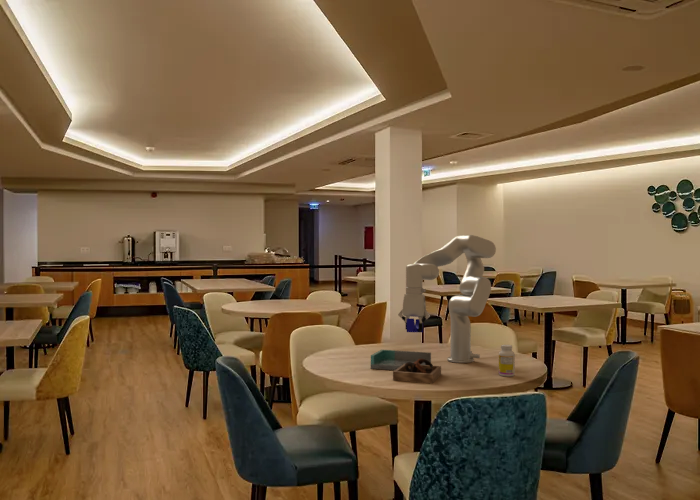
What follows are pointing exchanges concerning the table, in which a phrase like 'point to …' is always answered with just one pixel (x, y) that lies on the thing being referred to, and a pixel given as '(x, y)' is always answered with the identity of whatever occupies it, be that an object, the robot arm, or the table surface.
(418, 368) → the brown looped piece
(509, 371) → the supplement bottle
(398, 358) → the grey teal tray
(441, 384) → the table surface
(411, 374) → the wooden tray
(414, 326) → the blue arch block
